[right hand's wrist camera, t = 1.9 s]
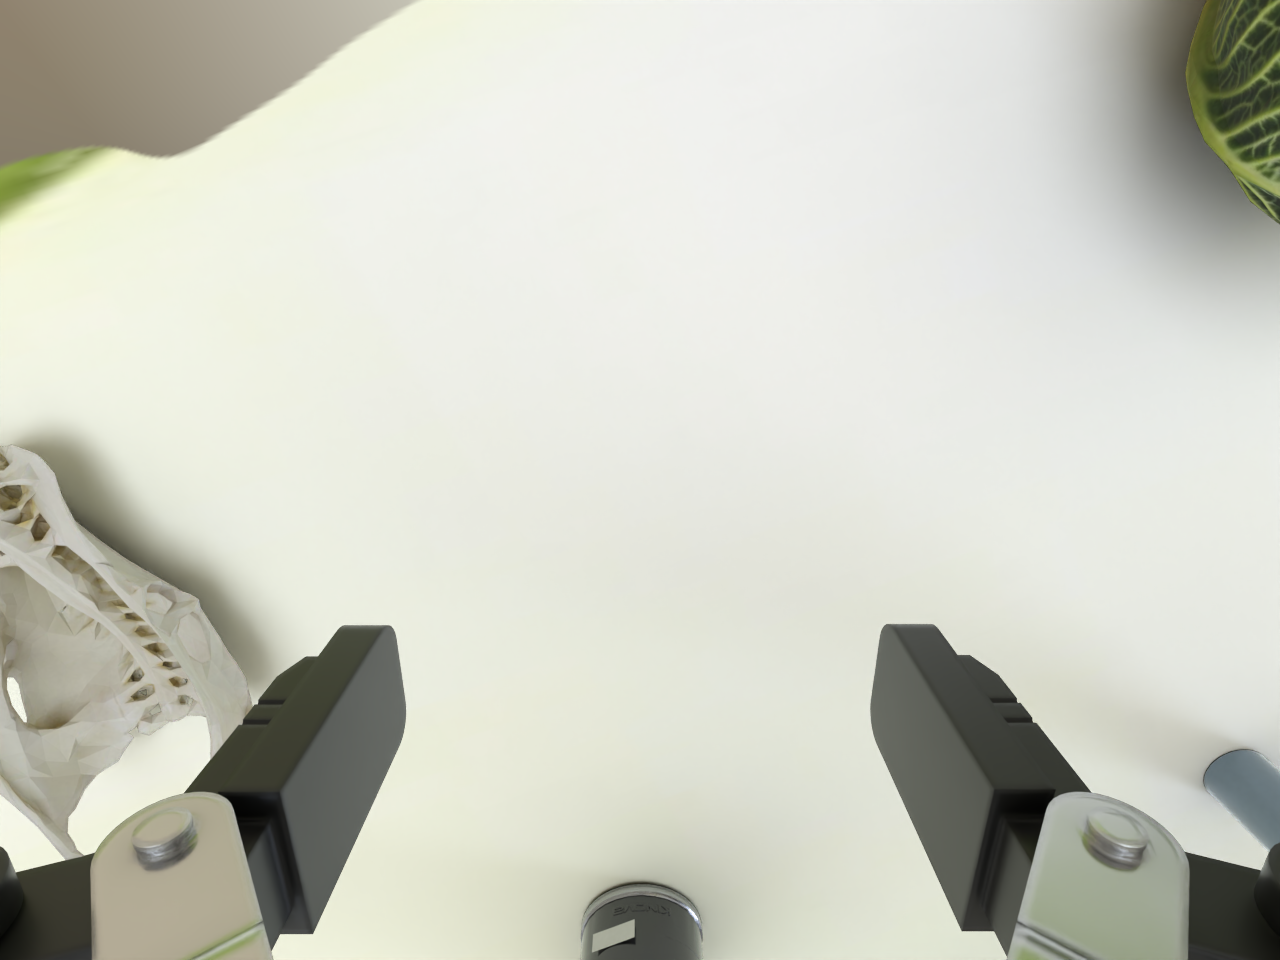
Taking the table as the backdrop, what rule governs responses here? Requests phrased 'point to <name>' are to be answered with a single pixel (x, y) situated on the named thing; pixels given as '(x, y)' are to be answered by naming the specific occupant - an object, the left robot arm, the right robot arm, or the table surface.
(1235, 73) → the vegetable
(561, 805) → the table surface
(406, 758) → the table surface
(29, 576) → the anatomical model
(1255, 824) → the blue slim bottle
